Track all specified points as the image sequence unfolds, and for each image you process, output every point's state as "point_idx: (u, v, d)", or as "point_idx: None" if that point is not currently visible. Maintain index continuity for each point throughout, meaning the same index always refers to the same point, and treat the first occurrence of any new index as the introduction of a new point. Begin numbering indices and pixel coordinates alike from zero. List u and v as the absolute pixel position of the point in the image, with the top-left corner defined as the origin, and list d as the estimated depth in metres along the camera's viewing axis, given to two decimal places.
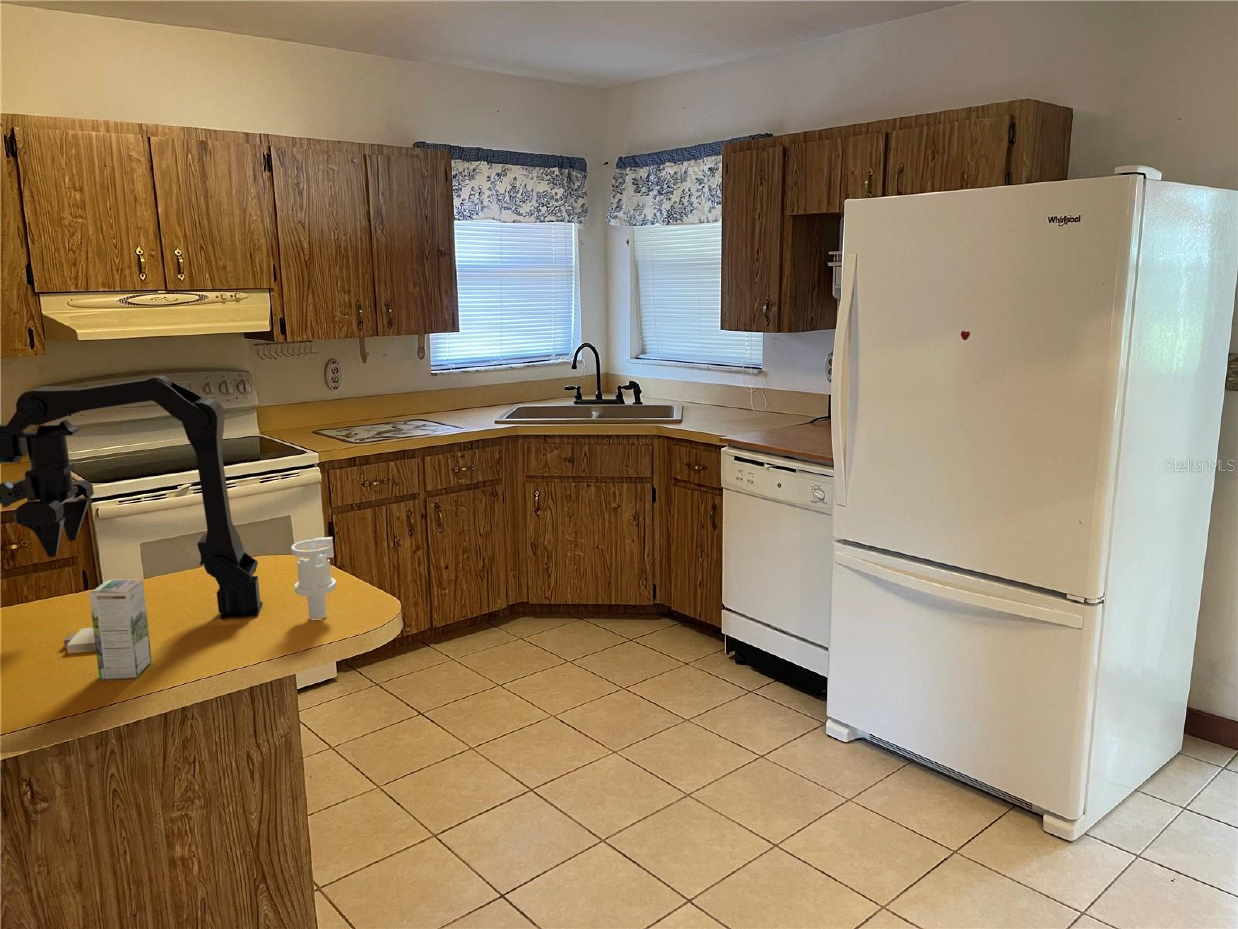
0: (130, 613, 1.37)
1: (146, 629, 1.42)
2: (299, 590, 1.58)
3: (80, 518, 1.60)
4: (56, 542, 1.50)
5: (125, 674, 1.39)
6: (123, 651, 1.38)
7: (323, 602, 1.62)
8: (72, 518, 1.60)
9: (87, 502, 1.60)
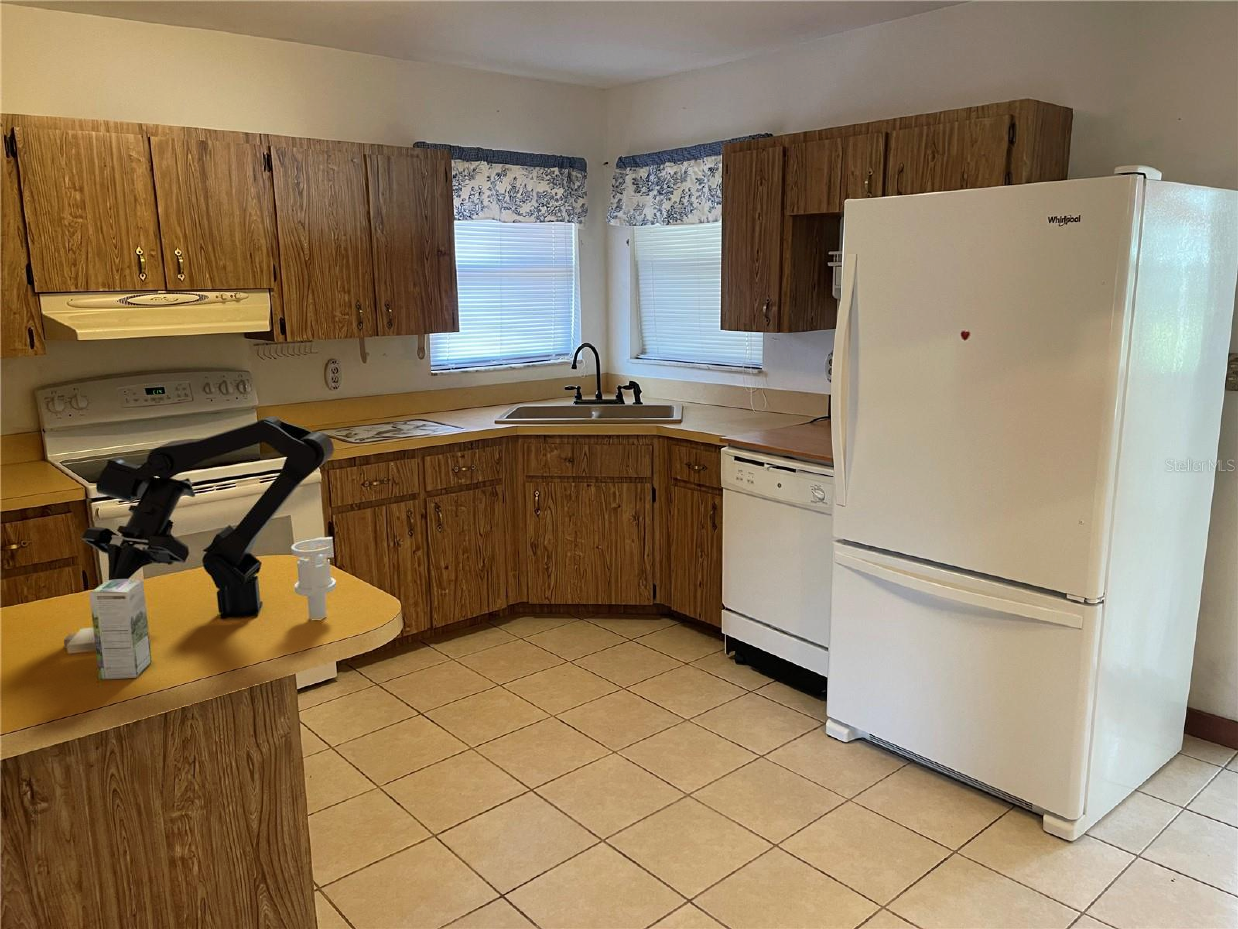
0: (130, 613, 1.37)
1: (146, 629, 1.42)
2: (299, 590, 1.58)
3: None
4: (109, 570, 1.52)
5: (125, 674, 1.39)
6: (123, 651, 1.38)
7: (323, 602, 1.62)
8: None
9: (125, 547, 1.51)
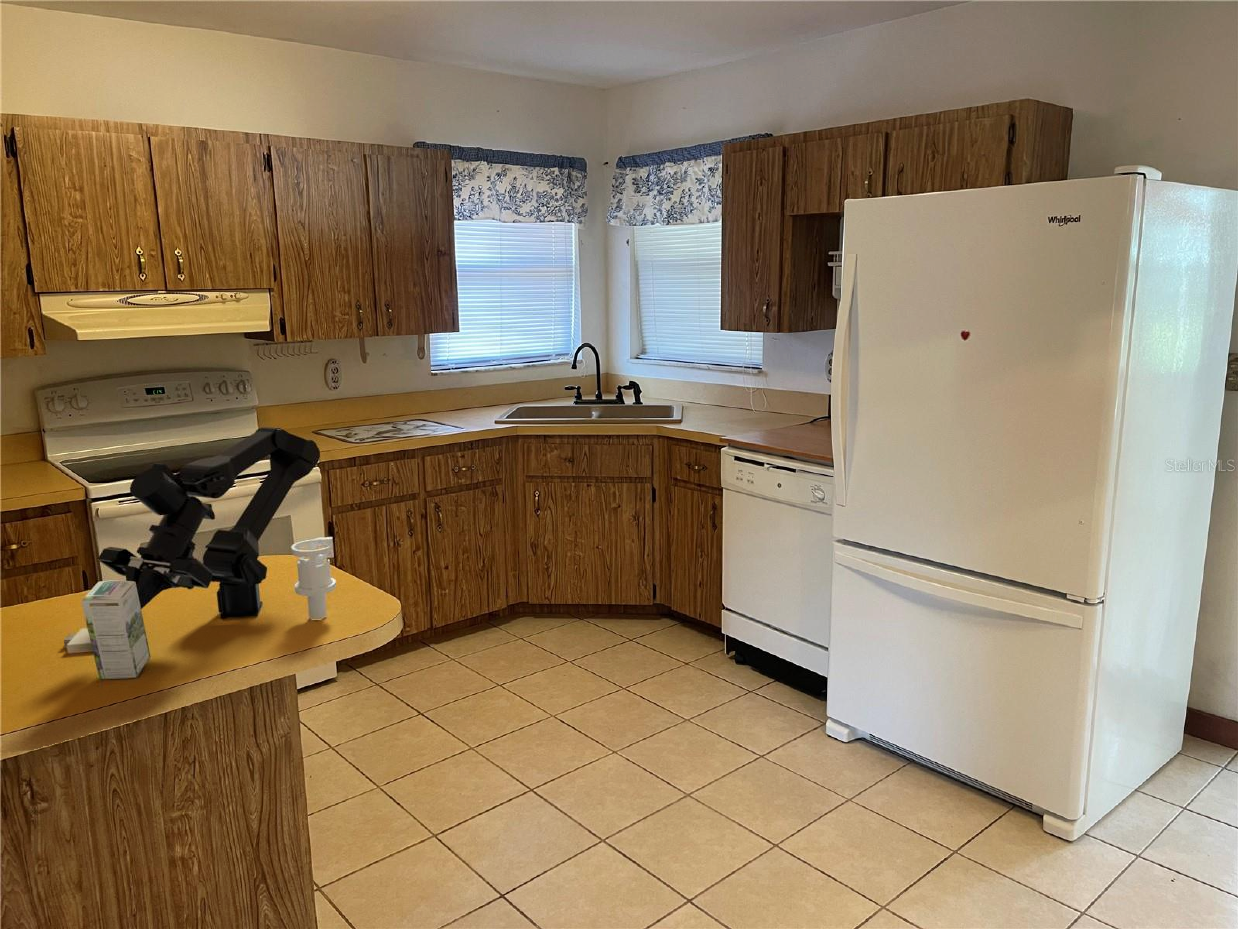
0: (125, 619, 1.35)
1: (142, 627, 1.41)
2: (299, 590, 1.58)
3: None
4: None
5: (125, 674, 1.39)
6: (121, 653, 1.37)
7: (323, 602, 1.62)
8: None
9: (145, 570, 1.42)
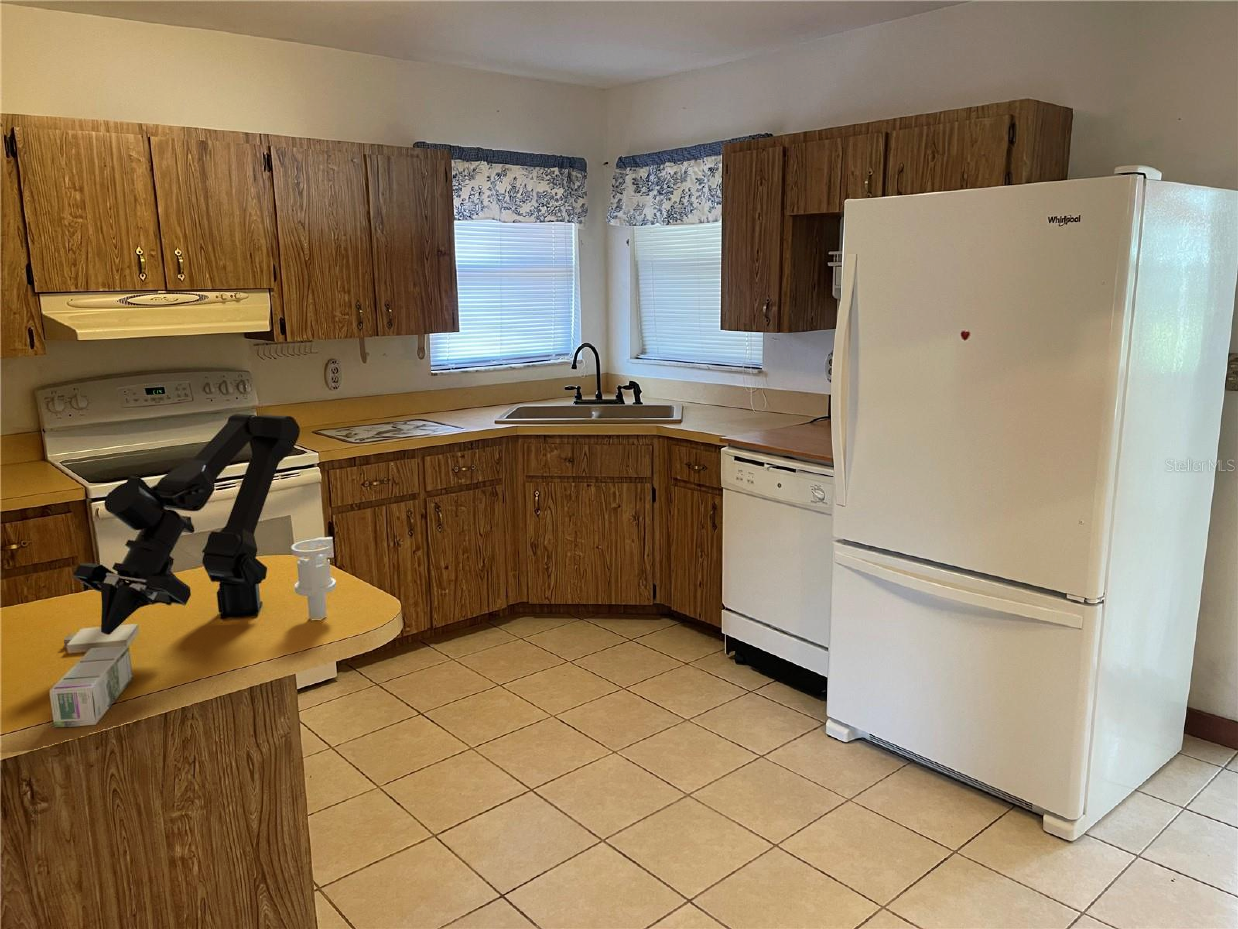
0: (106, 709, 1.29)
1: (114, 667, 1.32)
2: (299, 590, 1.58)
3: None
4: (102, 612, 1.38)
5: None
6: None
7: (323, 602, 1.62)
8: None
9: (120, 587, 1.38)
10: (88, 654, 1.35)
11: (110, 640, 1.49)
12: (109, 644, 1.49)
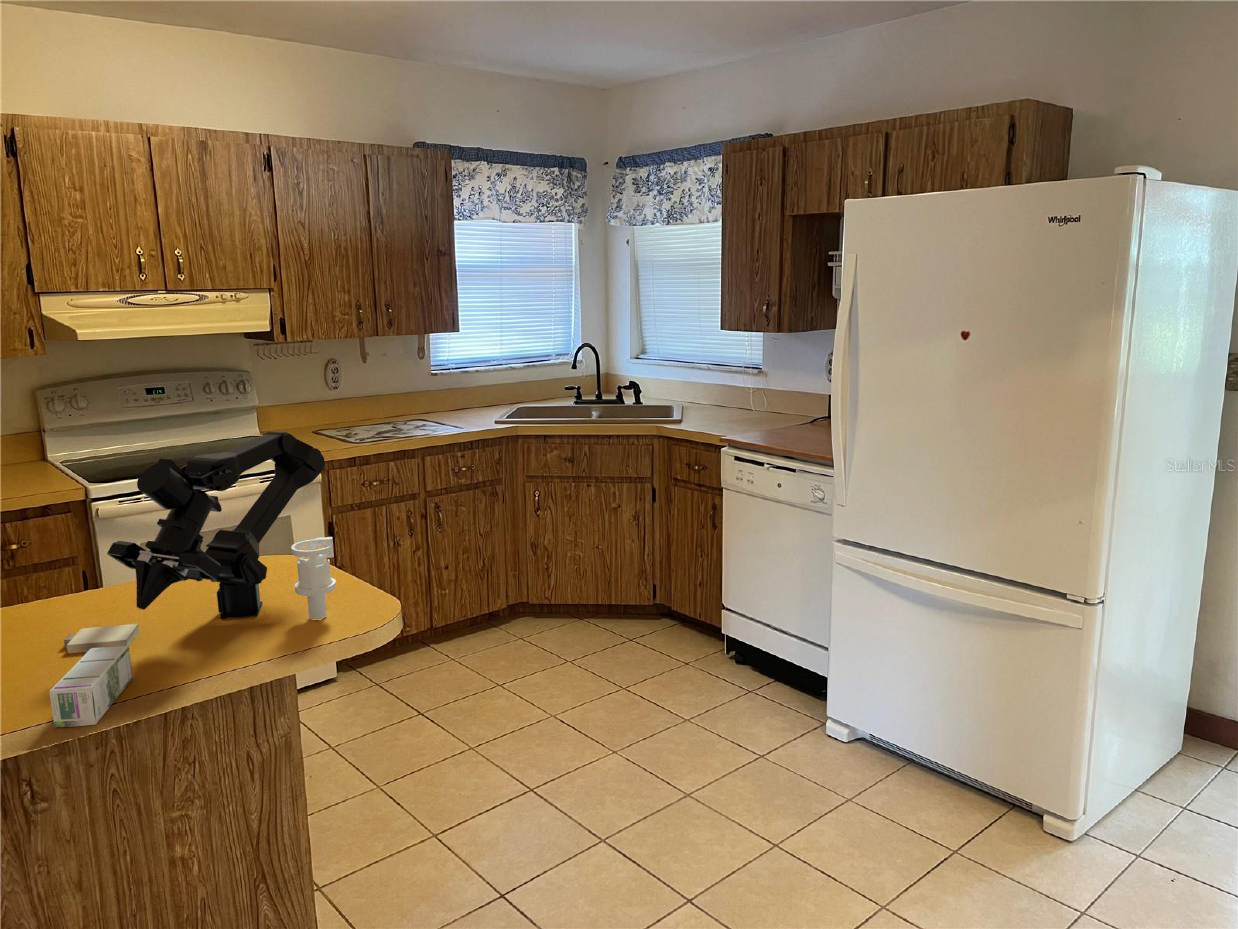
0: (106, 709, 1.29)
1: (114, 667, 1.32)
2: (299, 590, 1.58)
3: None
4: (137, 588, 1.44)
5: None
6: None
7: (323, 602, 1.62)
8: None
9: (154, 564, 1.43)
10: (88, 654, 1.35)
11: (110, 640, 1.49)
12: (109, 644, 1.49)
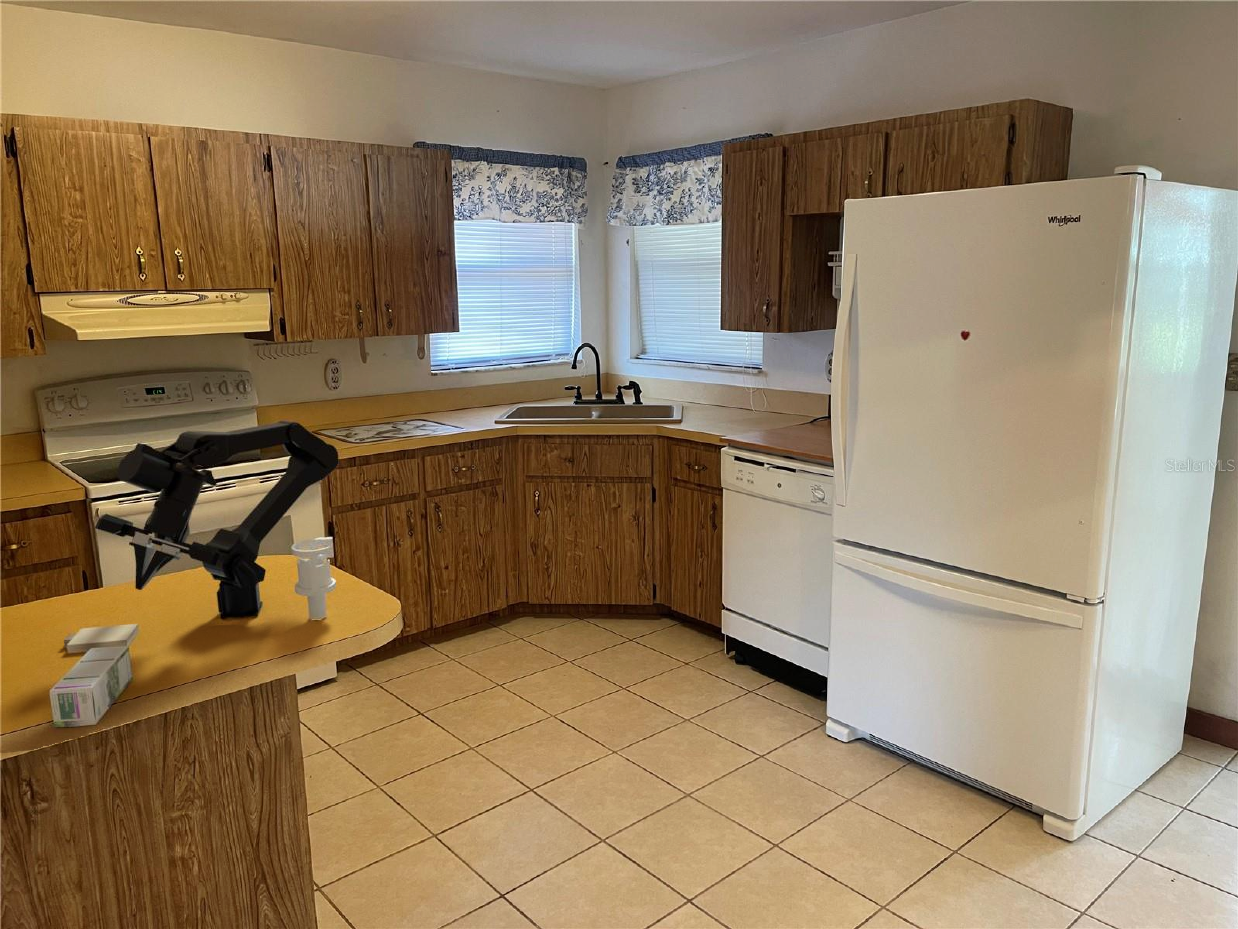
0: (106, 709, 1.29)
1: (114, 667, 1.32)
2: (299, 590, 1.58)
3: (148, 566, 1.48)
4: (136, 571, 1.47)
5: None
6: None
7: (323, 602, 1.62)
8: None
9: (158, 553, 1.47)
10: (88, 654, 1.35)
11: (110, 640, 1.49)
12: (109, 644, 1.49)
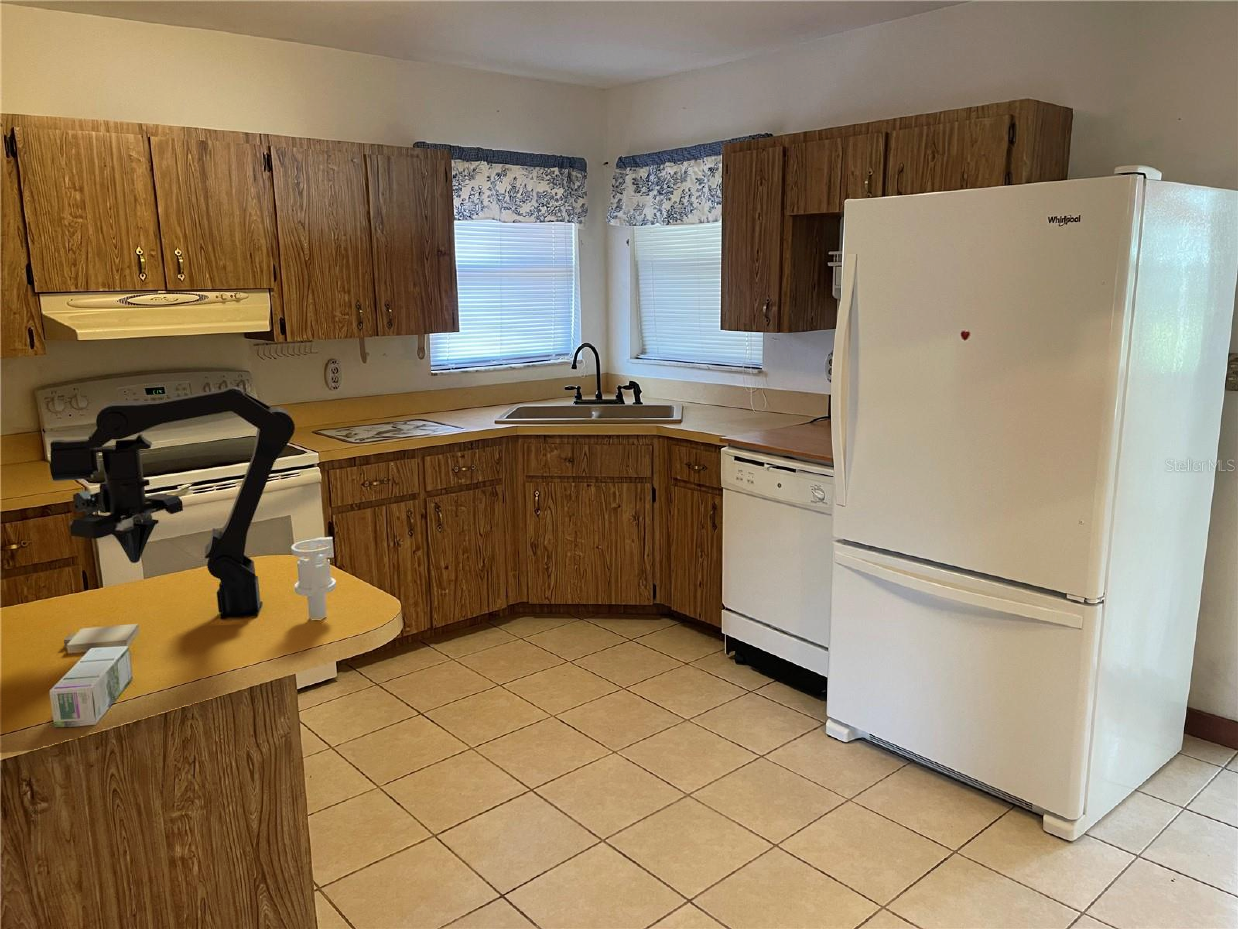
0: (106, 709, 1.29)
1: (114, 667, 1.32)
2: (299, 590, 1.58)
3: (141, 540, 1.55)
4: (133, 550, 1.54)
5: None
6: None
7: (323, 602, 1.62)
8: None
9: (149, 525, 1.55)
10: (88, 654, 1.35)
11: (110, 640, 1.49)
12: (109, 644, 1.49)
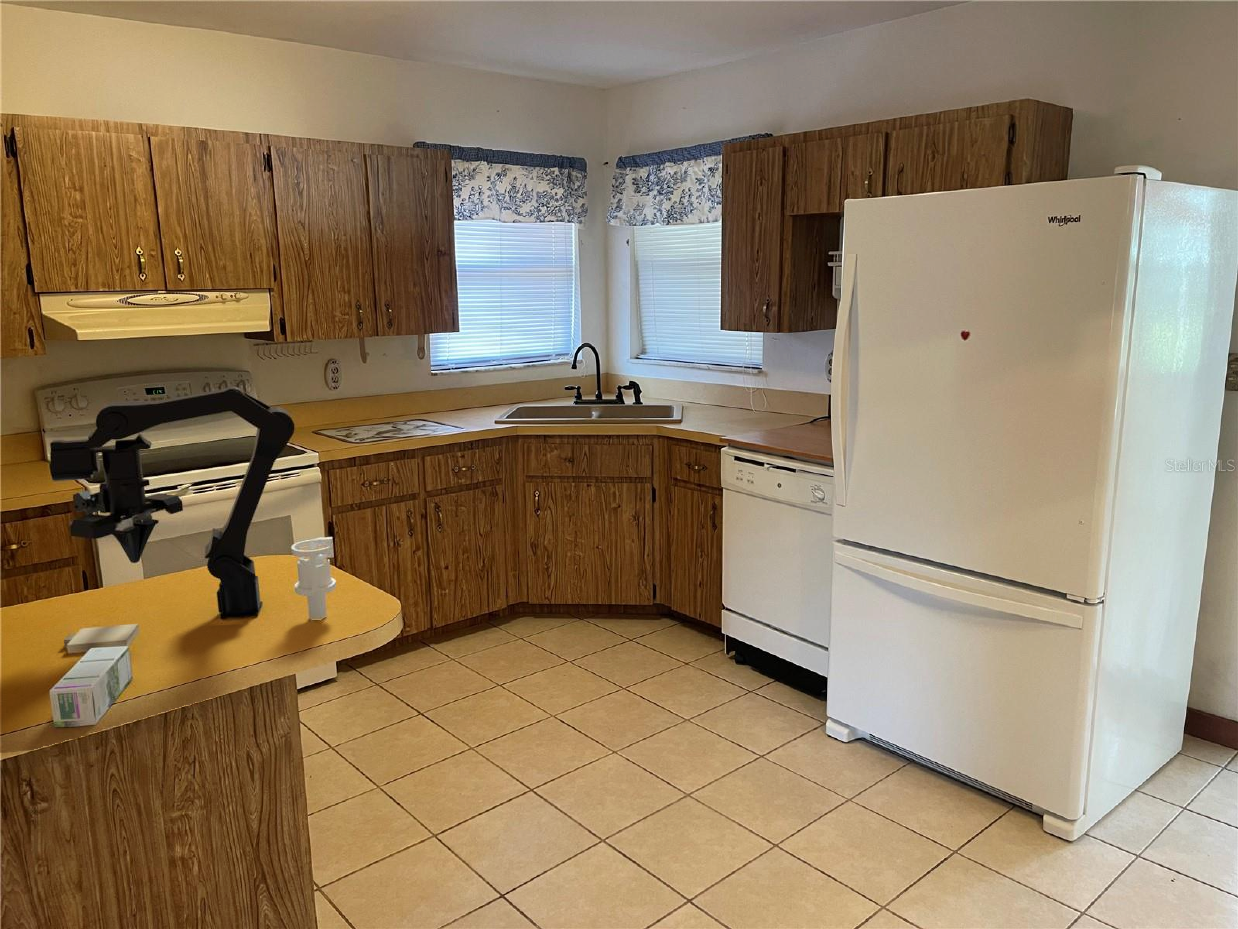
0: (106, 709, 1.29)
1: (114, 667, 1.32)
2: (299, 590, 1.58)
3: (141, 541, 1.55)
4: (133, 550, 1.54)
5: None
6: None
7: (323, 602, 1.62)
8: None
9: (149, 525, 1.55)
10: (88, 654, 1.35)
11: (110, 640, 1.49)
12: (109, 644, 1.49)
